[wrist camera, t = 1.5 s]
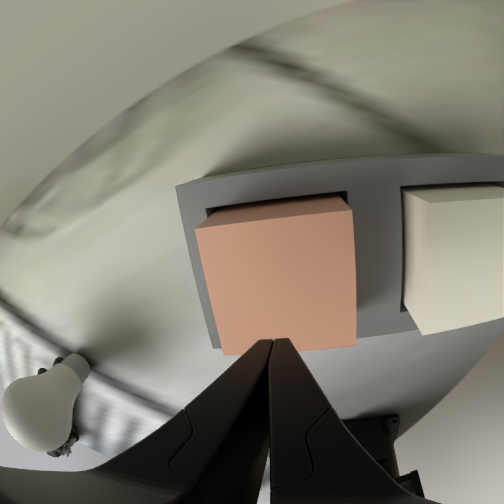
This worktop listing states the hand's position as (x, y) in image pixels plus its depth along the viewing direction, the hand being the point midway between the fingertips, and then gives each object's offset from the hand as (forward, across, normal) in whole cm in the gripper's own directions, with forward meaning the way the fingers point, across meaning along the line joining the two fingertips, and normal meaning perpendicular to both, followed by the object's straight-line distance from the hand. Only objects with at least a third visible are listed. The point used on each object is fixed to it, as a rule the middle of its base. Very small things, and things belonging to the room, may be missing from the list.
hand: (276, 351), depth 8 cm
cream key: (+8, -9, 0) cm, 12 cm away
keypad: (+10, -4, 0) cm, 11 cm away
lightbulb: (+10, +19, +9) cm, 23 cm away
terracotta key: (+8, 0, 0) cm, 8 cm away
